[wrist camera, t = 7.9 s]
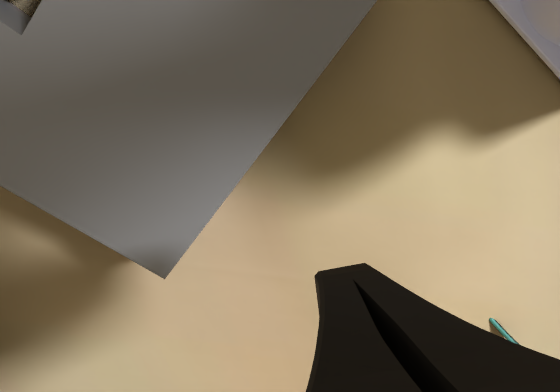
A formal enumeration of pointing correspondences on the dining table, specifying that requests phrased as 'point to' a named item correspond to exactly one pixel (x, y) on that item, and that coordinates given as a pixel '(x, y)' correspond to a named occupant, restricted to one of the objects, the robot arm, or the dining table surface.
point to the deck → (153, 107)
